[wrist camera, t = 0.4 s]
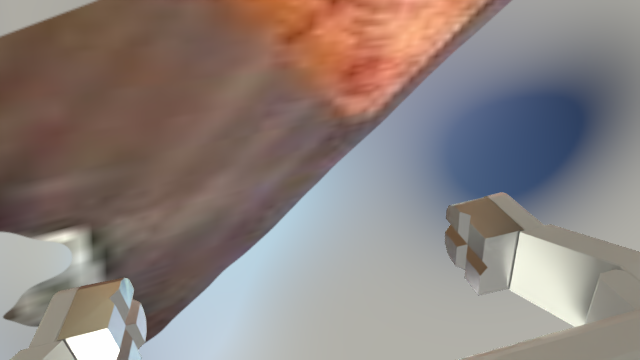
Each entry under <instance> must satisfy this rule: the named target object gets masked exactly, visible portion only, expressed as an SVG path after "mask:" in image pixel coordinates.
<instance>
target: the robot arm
mask: <svg viewBox="0 0 640 360" xmlns="http://www.w3.org/2000/svg"><path fill="white" fill-rule="evenodd" d="M446 219H447V220H448V222H449V223H450V224H451V225H450V226H449V228H448V229H447V230H446V232H445V244H446V248H447V253H448V255H449V256H450V259H451V260H452V262H453V263H454V264H455V265H456V266H457V267H459V268H462V269H464V270H465V276H464V278H465V279H466V280H467V282H468V283H469V284H470V286H471V287H472V288H473V289H474V291H475V292H476V293H477V295H483V294H488V293H493V292H497V291H501V290H506V289H510V291H512V292H514V293H516V294H517V295H519V296H521V297H523V298H525V299H526V300H528V301H530V302H532V303H534V304H535V305H537V306H539V307H541V308H542V309H544V310H546V311H548V312H550V313H551V314H553V315H555V316H557V317H558V318H560V319H562V320H564V321H566V322H567V323H569V324H571V325H573V326H575V327H573V328H569V329H566V330H562V331H558V332H555V333H551V334H547V335H544V336H540V337H537V338H533V339H529V340H526V341H522V342H518V343H515V344H512V345H508V346H504V347H500V348H497V349H493V350H490V351H486V352H482V353H479V354H475V355H472V356H468V357H464V358H461V359H457V360H640V252H639V251H635V250H632V249H629V248H626V247H622V246H619V245H616V244H612V243H609V242H606V241H603V240H600V239H596V238H593V237H590V236H586V235H583V234H580V233H577V232H573V231H570V230H567V229H564V228H561V227H557V226H554V225H551V224H550V225H543V224H542V223H541V222H540V221H539V220H537V219H536V218H535V217H534V216H533V215H531V214H530V213H529V212H528V211H527V210H525V209H524V208H523V207H522V206H520V205H519V204H518V203H517V202H516V201H515V200H513V199H512V198H511V197H510V196H508V195H507V194H505V193H502V192H501V193H497V194H493V195H489V196H485V197H484V198H479V199H476V200H471V201H466V202H462V203H458V204H453V205H449V206H448V208H447V211H446ZM133 292H134V288H133V286H132V284H131V282H130V281H129V279H127V278H120V279H115V280H110V281H105V282H100V283H95V284H90V285H85V286H81V287H76V288H72V289H67V290H62V291H59V292H57V293H56V294H54V296H53V297H52V300H51V302H50V304H49V306H48V308H47V310H46V312H45V314H44V316H43V319H42V321H41V323H40V325H39V327H38V329H37V331H36V333H35V335H34V338H33V340H32V342H31V344H30V346H29V348H28V349H24V350H21V351H19V352H18V353H17V354H16V355H15V356H14V357H13V358H12V359H10V360H142V357H141V355H140V353H139V351H138V349H139V348H140V347H141V346H142V345H143V344H144V342H145V338H146V332H147V330H146V318H145V314H144V310H143V308H142V306H141V303H140V302H138V301H136V300H134V299H132V297H133Z"/></svg>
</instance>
